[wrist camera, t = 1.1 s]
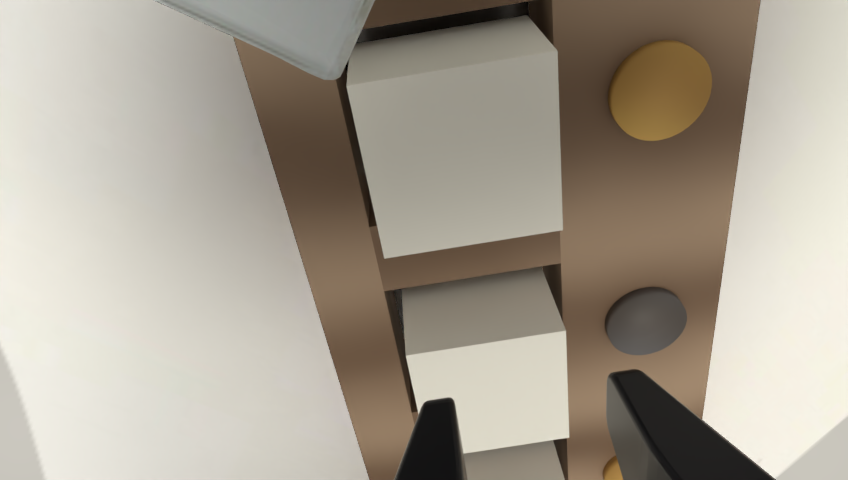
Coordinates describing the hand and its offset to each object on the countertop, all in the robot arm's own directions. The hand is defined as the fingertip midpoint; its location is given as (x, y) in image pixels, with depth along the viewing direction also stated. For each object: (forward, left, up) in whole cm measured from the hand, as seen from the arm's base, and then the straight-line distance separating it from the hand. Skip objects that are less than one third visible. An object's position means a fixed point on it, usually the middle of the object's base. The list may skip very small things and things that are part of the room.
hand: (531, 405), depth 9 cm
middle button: (-8, 0, -11) cm, 13 cm away
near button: (0, 0, -11) cm, 11 cm away
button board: (-8, -1, -13) cm, 15 cm away
